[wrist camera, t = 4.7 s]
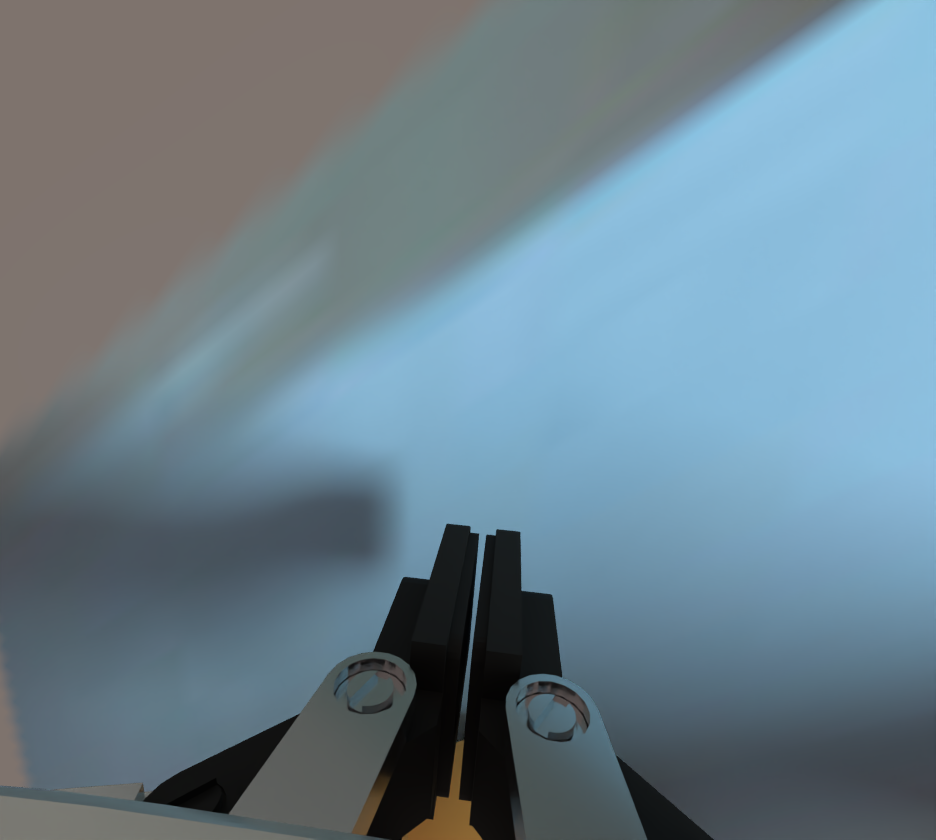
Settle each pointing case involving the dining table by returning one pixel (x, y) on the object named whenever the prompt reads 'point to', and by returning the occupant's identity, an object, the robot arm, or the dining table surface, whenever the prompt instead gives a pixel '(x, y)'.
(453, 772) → the ball
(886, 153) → the dining table surface
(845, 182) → the dining table surface
